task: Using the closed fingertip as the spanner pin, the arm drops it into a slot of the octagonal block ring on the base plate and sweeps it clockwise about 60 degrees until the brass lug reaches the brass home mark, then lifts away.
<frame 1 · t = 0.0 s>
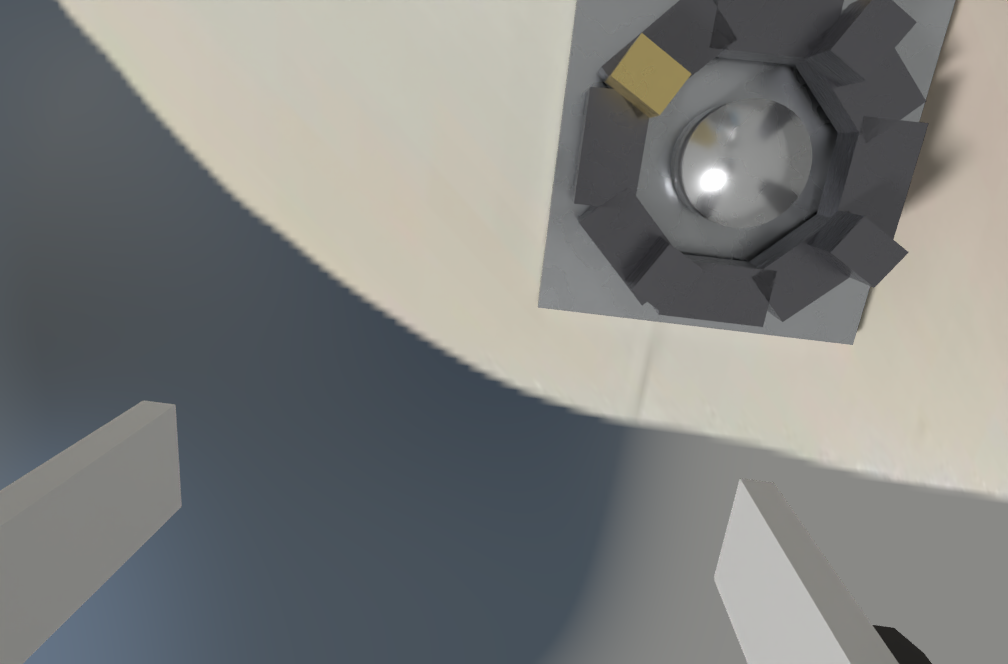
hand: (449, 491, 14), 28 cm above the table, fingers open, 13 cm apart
base plate: (723, 163, 38), on the table
octagonal block ring: (746, 164, 33), point 4 cm above the table, hinge at 0.0°
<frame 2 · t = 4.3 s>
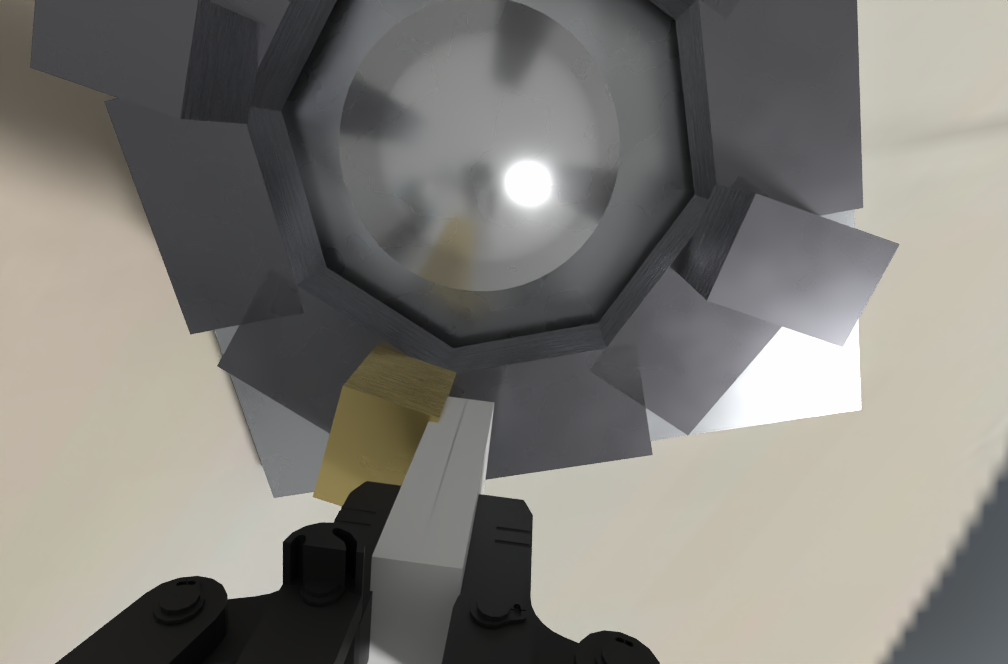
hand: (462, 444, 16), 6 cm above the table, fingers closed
base plate: (492, 152, 19), on the table
octagonal block ring: (478, 154, 15), point 4 cm above the table, hinge at 0.0°, touching gripper
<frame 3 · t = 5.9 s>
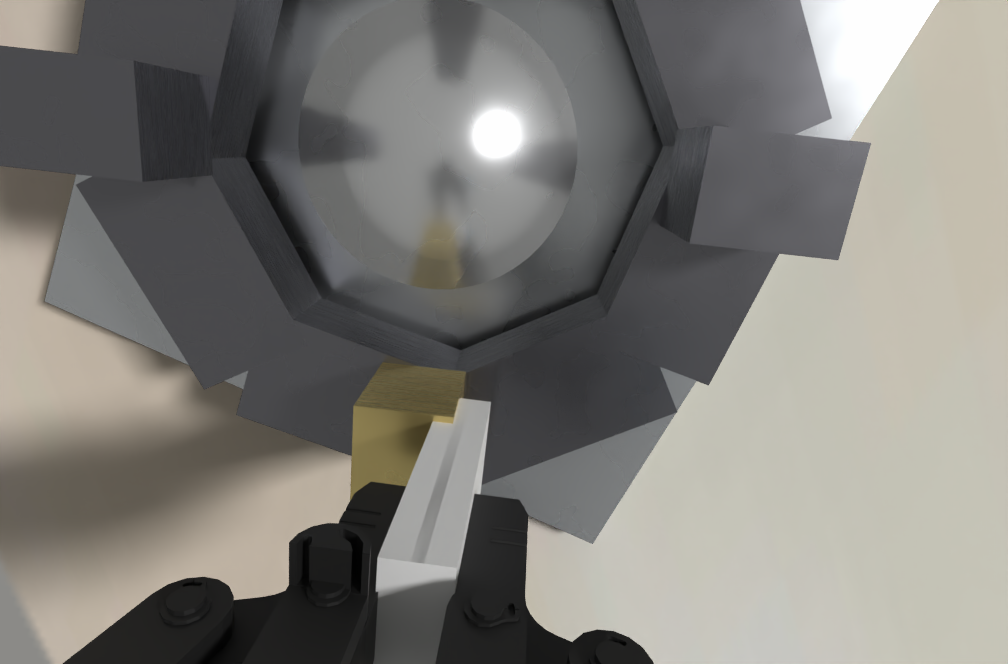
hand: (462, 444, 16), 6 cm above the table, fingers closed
base plate: (457, 151, 19), on the table
octagonal block ring: (437, 152, 15), point 4 cm above the table, hinge at -40.3°, touching gripper
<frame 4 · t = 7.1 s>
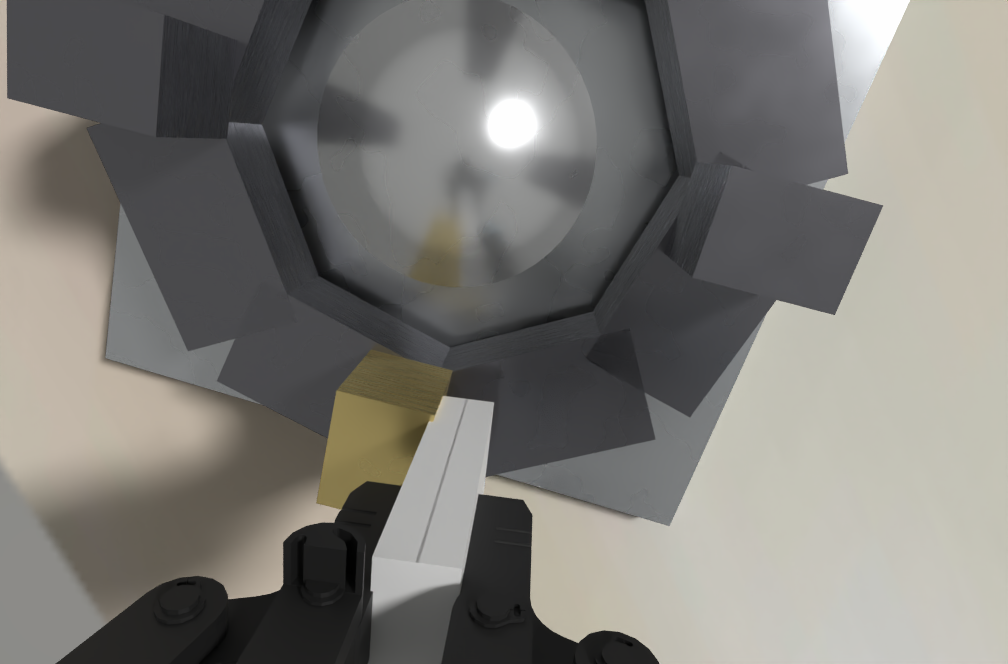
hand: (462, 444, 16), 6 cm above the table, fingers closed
base plate: (474, 149, 19), on the table
octagonal block ring: (456, 150, 15), point 4 cm above the table, hinge at -57.4°, touching gripper
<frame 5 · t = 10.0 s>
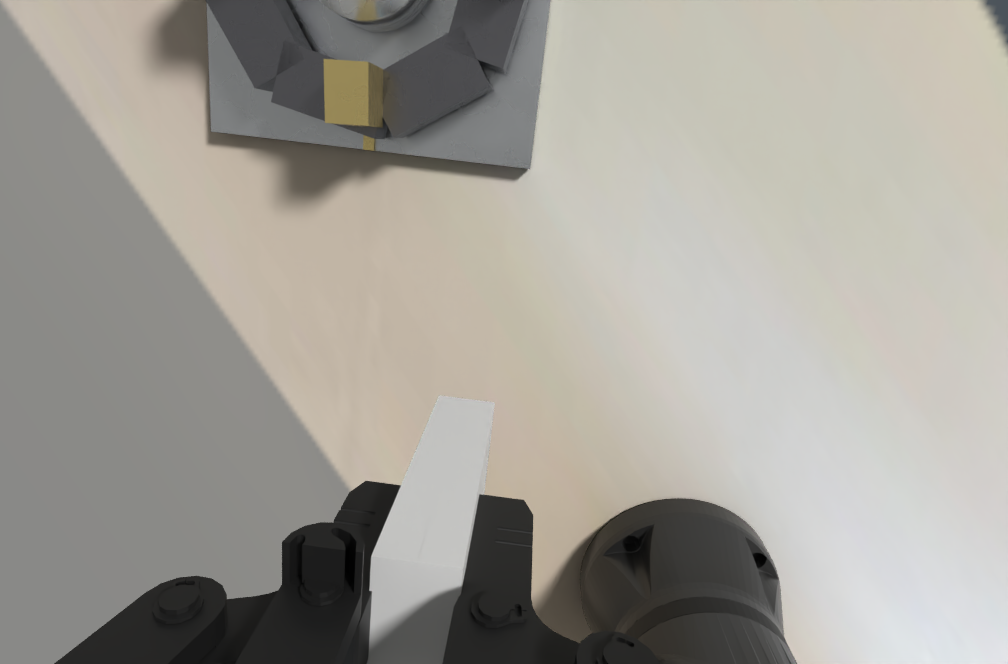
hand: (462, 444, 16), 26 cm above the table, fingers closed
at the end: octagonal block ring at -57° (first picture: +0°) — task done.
